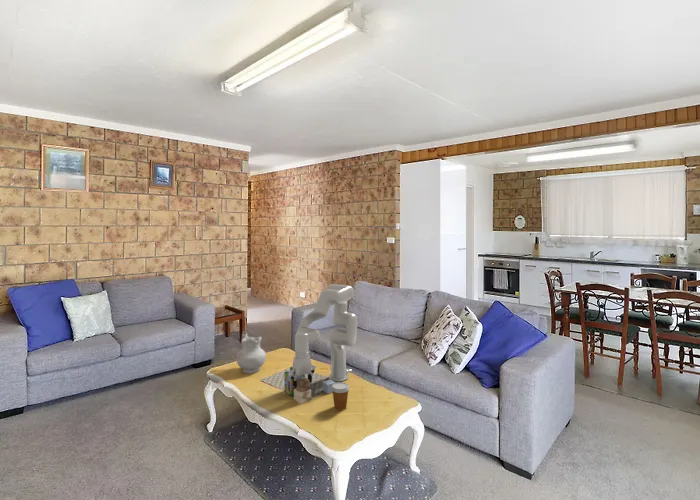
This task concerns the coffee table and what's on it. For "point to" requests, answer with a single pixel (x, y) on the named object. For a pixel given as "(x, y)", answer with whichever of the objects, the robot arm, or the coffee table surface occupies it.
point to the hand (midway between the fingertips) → (302, 384)
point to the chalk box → (290, 382)
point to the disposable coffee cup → (340, 395)
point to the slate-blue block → (327, 386)
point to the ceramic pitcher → (251, 354)
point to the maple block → (302, 396)
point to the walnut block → (303, 384)
